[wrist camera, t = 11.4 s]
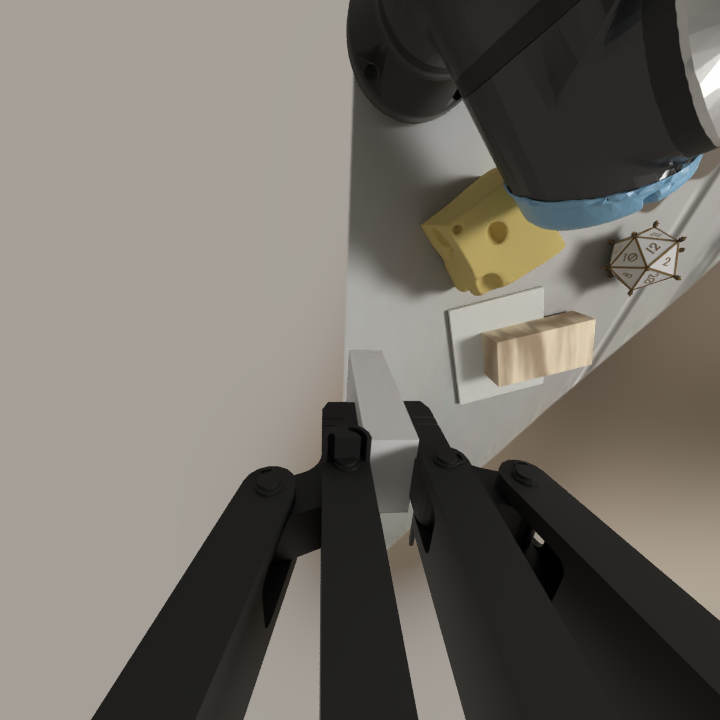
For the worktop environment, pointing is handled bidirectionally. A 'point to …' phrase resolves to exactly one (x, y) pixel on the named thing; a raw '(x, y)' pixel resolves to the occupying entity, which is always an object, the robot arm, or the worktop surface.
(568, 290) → the worktop surface
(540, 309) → the rubber mat
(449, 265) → the cheese
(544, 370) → the maple block
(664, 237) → the game die
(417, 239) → the worktop surface
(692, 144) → the robot arm
